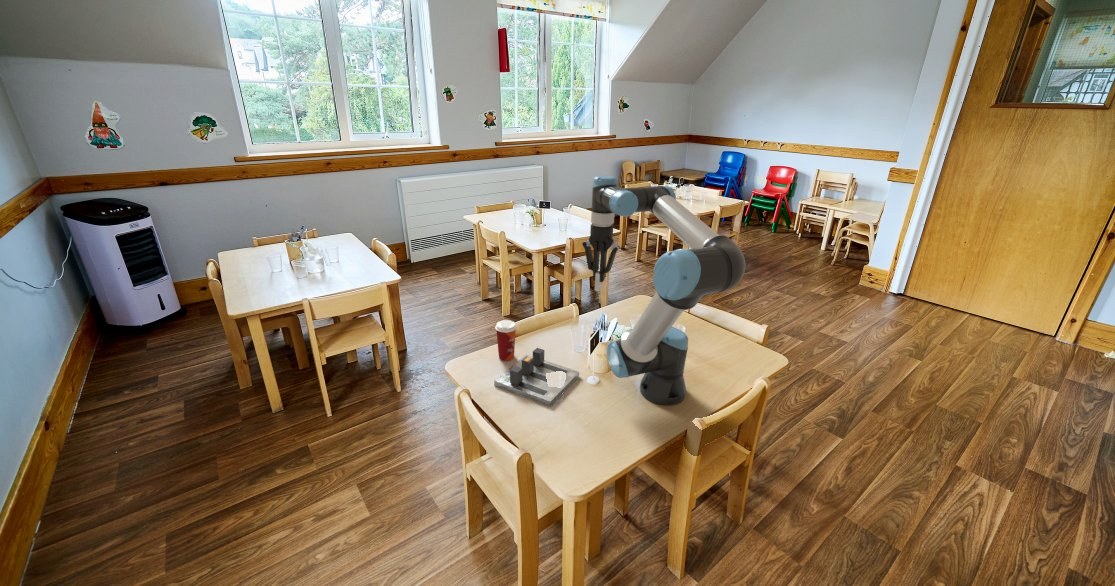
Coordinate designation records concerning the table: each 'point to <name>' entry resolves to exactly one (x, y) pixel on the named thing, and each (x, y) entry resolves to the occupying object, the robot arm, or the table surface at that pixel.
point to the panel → (537, 382)
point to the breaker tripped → (528, 365)
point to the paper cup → (506, 339)
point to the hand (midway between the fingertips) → (598, 289)
